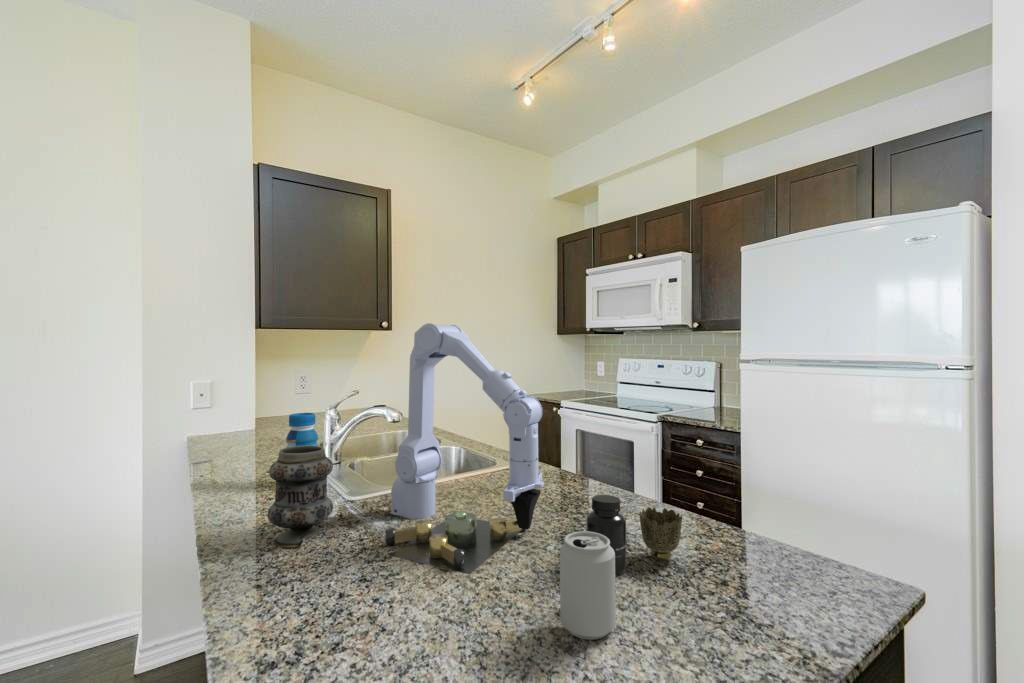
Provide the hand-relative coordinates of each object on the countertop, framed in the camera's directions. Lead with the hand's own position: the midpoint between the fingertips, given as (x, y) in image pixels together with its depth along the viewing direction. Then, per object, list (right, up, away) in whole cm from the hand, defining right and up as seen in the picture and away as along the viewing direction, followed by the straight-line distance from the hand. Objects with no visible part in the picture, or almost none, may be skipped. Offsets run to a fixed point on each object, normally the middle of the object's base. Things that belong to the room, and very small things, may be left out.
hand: (524, 527), depth 94 cm
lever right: (-3, -1, 0) cm, 3 cm away
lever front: (-14, -1, -11) cm, 18 cm away
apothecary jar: (-45, -3, +2) cm, 45 cm away
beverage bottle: (-61, -4, +39) cm, 72 cm away
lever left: (-22, -1, -3) cm, 22 cm away
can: (+8, -2, -29) cm, 30 cm away
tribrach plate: (-12, -3, -2) cm, 13 cm away
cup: (+24, -3, -8) cm, 26 cm away
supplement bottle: (+14, -3, -12) cm, 18 cm away
